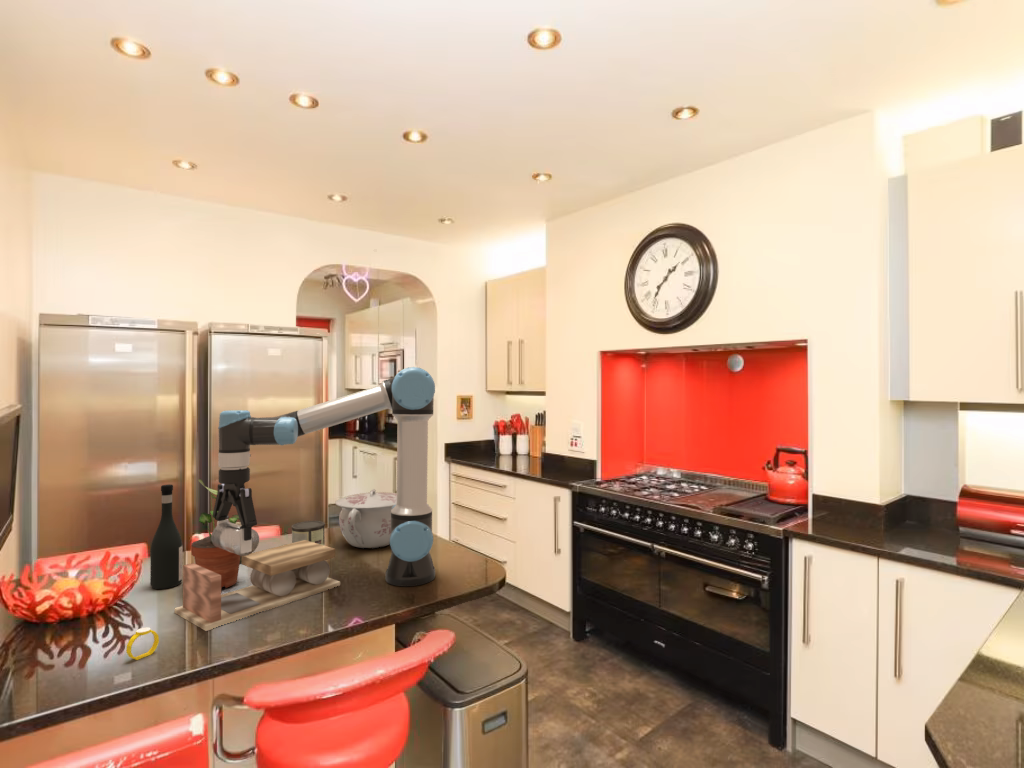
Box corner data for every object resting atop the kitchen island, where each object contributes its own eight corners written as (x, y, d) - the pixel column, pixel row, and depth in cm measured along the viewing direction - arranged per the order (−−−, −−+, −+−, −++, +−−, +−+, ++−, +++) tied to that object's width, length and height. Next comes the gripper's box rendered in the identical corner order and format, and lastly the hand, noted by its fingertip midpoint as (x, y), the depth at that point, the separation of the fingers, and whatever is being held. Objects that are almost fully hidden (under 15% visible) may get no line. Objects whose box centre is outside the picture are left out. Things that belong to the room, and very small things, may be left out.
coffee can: (300, 561, 184) (301, 520, 184) (330, 562, 183) (330, 520, 183) (285, 571, 174) (285, 527, 174) (316, 572, 173) (316, 528, 173)
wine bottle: (175, 578, 167) (175, 481, 168) (187, 584, 163) (187, 484, 163) (145, 586, 161) (146, 485, 161) (157, 592, 156) (157, 488, 156)
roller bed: (340, 585, 161) (340, 544, 161) (205, 631, 131) (206, 580, 131) (305, 573, 172) (306, 535, 172) (174, 612, 142) (174, 566, 142)
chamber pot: (389, 530, 225) (389, 480, 225) (422, 545, 204) (422, 489, 204) (322, 542, 207) (322, 488, 207) (351, 560, 186) (351, 499, 186)
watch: (153, 651, 122) (155, 623, 122) (159, 654, 120) (162, 626, 121) (123, 660, 116) (125, 632, 117) (130, 664, 115) (132, 635, 115)
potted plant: (218, 597, 152) (218, 473, 152) (179, 591, 157) (179, 470, 158) (261, 579, 167) (261, 465, 167) (224, 573, 172) (224, 463, 172)
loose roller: (258, 553, 144) (260, 526, 145) (231, 558, 139) (233, 530, 139) (236, 545, 152) (238, 520, 152) (210, 549, 146) (212, 523, 147)
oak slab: (335, 557, 161) (335, 548, 161) (271, 575, 145) (271, 566, 145) (304, 547, 171) (304, 540, 171) (241, 564, 155) (241, 555, 155)
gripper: (271, 469, 141) (271, 552, 141) (227, 462, 156) (226, 537, 155) (242, 473, 135) (242, 560, 135) (199, 465, 150) (198, 543, 149)
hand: (233, 548), depth 145 cm, fingers closed on loose roller, 12 cm apart
